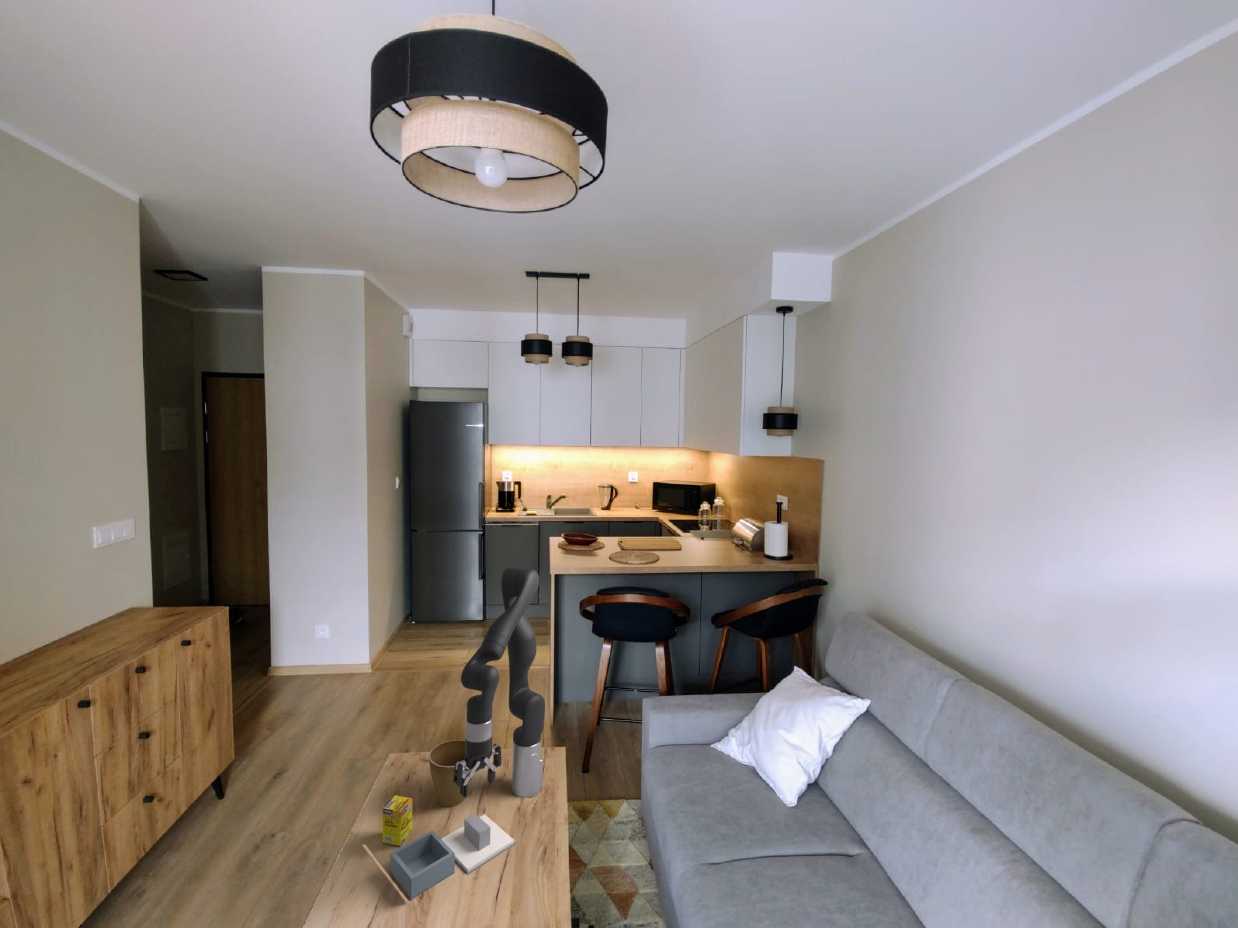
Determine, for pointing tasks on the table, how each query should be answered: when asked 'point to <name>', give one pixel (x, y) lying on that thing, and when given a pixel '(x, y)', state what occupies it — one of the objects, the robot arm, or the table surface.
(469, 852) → the lid
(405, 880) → the grey storage bin
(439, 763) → the plant pot
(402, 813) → the supplement box
